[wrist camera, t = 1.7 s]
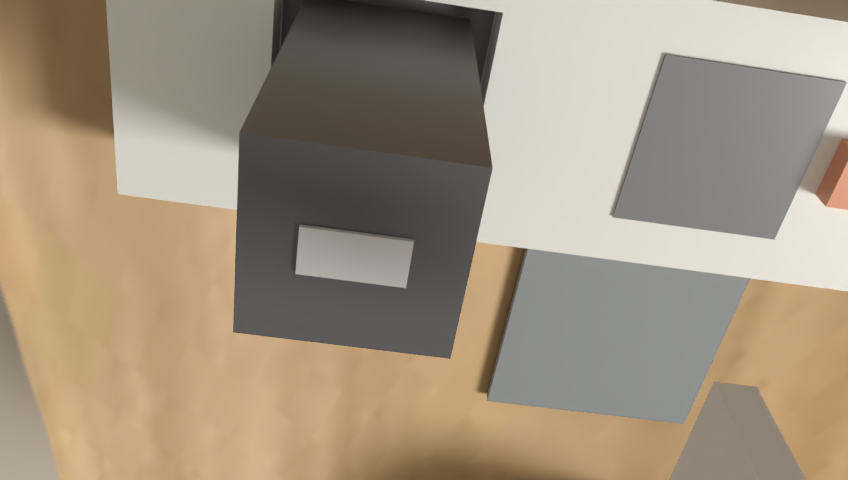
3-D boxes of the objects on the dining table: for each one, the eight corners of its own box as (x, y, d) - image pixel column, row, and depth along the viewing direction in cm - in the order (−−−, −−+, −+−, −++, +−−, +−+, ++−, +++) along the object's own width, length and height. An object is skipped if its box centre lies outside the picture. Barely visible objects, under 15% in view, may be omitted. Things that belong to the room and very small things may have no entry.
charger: (307, -6, 24) (238, 134, 15) (470, 19, 24) (493, 170, 16) (296, 143, 26) (232, 335, 18) (443, 164, 27) (450, 361, 18)
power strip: (140, -118, 24) (88, -94, 20) (1122, 42, 26) (1233, 90, 23) (149, 147, 29) (109, 206, 25) (981, 262, 31) (1054, 331, 28)
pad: (532, 223, 30) (533, 229, 30) (755, 254, 31) (758, 259, 31) (486, 394, 35) (487, 400, 35) (681, 417, 36) (683, 423, 35)
